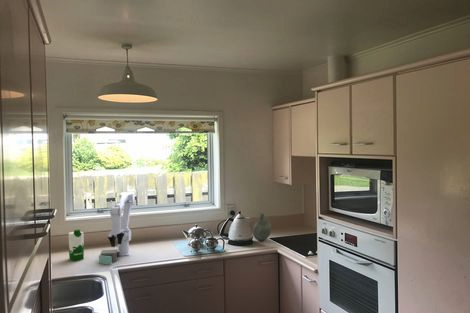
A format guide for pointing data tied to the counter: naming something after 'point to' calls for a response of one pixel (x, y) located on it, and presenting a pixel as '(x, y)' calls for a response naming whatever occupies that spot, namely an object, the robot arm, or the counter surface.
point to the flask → (261, 229)
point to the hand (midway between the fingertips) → (116, 245)
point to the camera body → (111, 254)
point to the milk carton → (76, 245)
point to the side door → (105, 259)
